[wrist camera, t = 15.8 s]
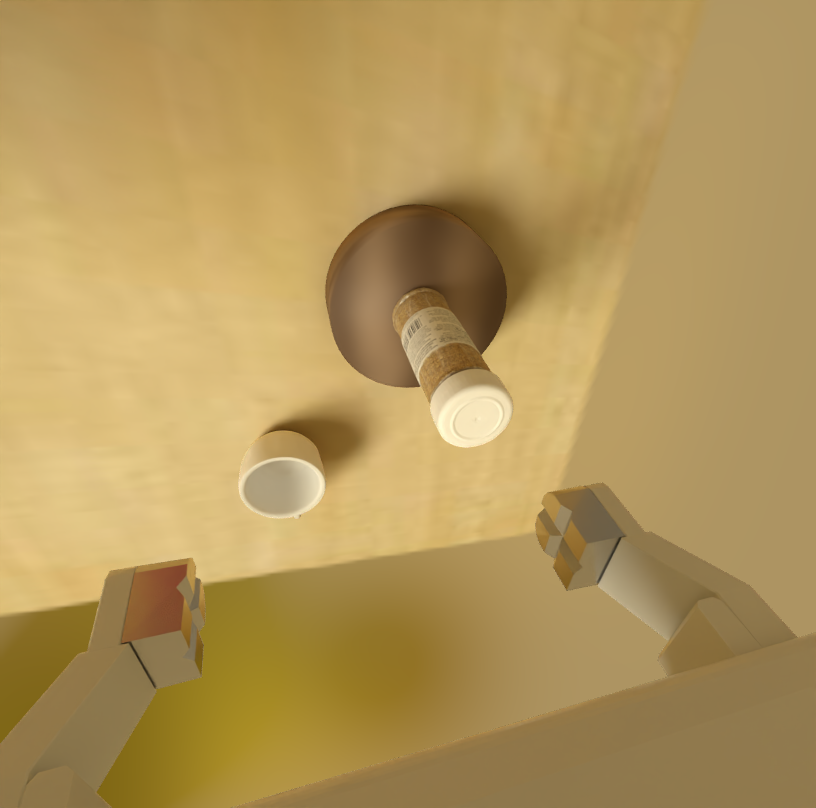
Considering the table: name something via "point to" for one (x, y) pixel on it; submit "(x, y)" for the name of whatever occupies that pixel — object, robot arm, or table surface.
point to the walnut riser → (409, 285)
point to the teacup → (282, 475)
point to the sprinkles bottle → (451, 371)
